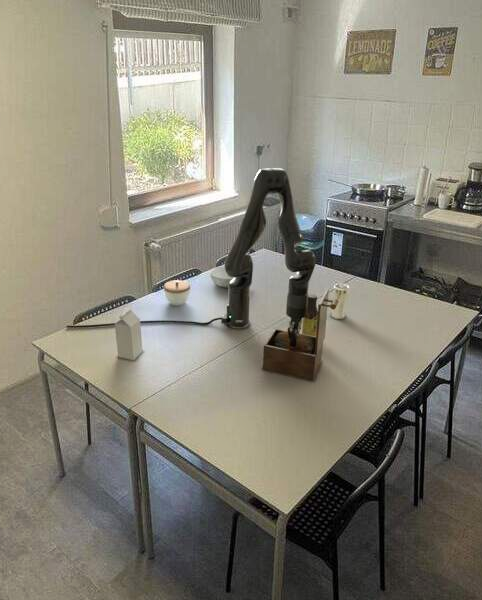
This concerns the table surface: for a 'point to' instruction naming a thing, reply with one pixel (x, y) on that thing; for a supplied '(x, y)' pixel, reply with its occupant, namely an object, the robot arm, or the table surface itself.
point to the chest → (291, 359)
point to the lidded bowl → (177, 292)
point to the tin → (302, 343)
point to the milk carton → (128, 336)
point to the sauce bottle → (310, 317)
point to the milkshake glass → (340, 300)
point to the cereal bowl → (220, 276)
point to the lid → (323, 319)
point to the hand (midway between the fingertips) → (293, 343)
